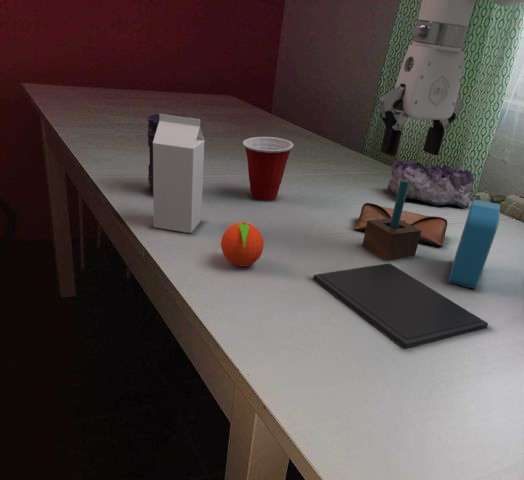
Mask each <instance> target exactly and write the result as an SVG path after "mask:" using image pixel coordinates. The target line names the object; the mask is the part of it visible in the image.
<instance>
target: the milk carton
mask: <svg viewBox="0 0 524 480" xmlns="http://www.w3.org/2000/svg"><path fill="white" fill-rule="evenodd" d="M172 115H173V114H169V115H165V113H159V123H158V127H157V130H156V133H155V137H154V140H153V195H152V197H153V199H152V200H153V227H154V228H156V229H161V230H162V229H163V230H168V231H173V232H174V231H175V232H180V233H186V234H187V233H188V234H192V232H193V231H194V230H195V229H196V228H197V226H198V225H199V224H200V223H201V222H202V215H203V212H202V211H203V187H204V186H203V185H204V161H205V159H204V158H205V137H204V134H203V131H202V128H201V119H200V118H194V117H189V118H187V117H188V116H185V117H180V116H181V115H179V116H172Z"/></svg>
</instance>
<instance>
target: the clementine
mask: <svg viewBox="0 0 524 480" xmlns="http://www.w3.org/2000/svg"><path fill="white" fill-rule="evenodd" d="M264 246H265V244H264V237H263V235H262V233H261V232H260V230H259V229H258V228H257V227H256V226H254V225H253V224H251V223H249V222H243V221H242V222H236V223H234V224H231V225H230V226H228V227H227V229H226V230H224V232H223V234H222V237H221V241H220V249H221V252H222V255H223V256H224V258H225V259H226V260H227V261H228V262H229V263H231V264H232V265H233V266H238V267H248V266H251V265H253V264H255V263H256V262H258V260H259V259H260V258H261V256H262V254H263V251H264Z"/></svg>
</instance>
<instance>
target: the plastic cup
mask: <svg viewBox="0 0 524 480" xmlns="http://www.w3.org/2000/svg"><path fill="white" fill-rule="evenodd" d="M242 145H243V147H244V148H245V153H246V158H247V159H246V162H247V171H248V172H247V173H248V181H249V193H250V196H251V198H252V199H254V200H257V201H262V202H263V201H264V202H271V201H275V200H276V199H277V197H278V195H279V190H280V188H281V184H282V181H283V177H284V174H285V171H286V167H287V163H288V159H289V156H290V153H291V151H292V149H293V147H294V144H293V142H292V141H290V140H288V139H285V138H281V137H274V136H254V137H250V138H246V139H244V140H243V141H242Z"/></svg>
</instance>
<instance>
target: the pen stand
mask: <svg viewBox="0 0 524 480" xmlns="http://www.w3.org/2000/svg"><path fill="white" fill-rule="evenodd" d="M391 219H392V218H387V219H377V220H368V221H367V225H366V230H365V231H364V235H363V240H362V243H361V244H362V245H361V247H363V248H365V249H367V250H368V251H370V252H372V254H375V256H378V257H379V258H381V259H383V260H385V261H392V260H398V259H404V258H406V259H407V258H413V257H415V256H416V252H417V249H418V245H419V243H418V242H419V238H420V235H421V230H419V229H418V228H416V227H414V226H412V225H410V224H408V223H406V222H404V221H402V220H400V222H399V226H398V229H392V228H390V224H391Z"/></svg>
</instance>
